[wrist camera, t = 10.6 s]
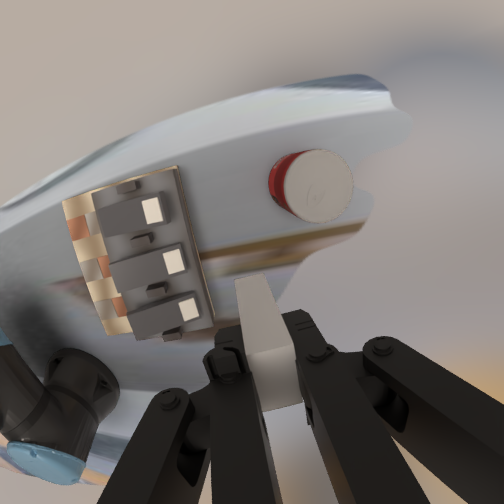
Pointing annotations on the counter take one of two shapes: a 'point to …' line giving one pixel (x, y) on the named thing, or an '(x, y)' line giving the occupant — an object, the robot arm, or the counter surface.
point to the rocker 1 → (135, 214)
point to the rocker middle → (148, 267)
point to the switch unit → (136, 252)
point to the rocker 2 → (164, 315)
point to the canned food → (312, 185)
